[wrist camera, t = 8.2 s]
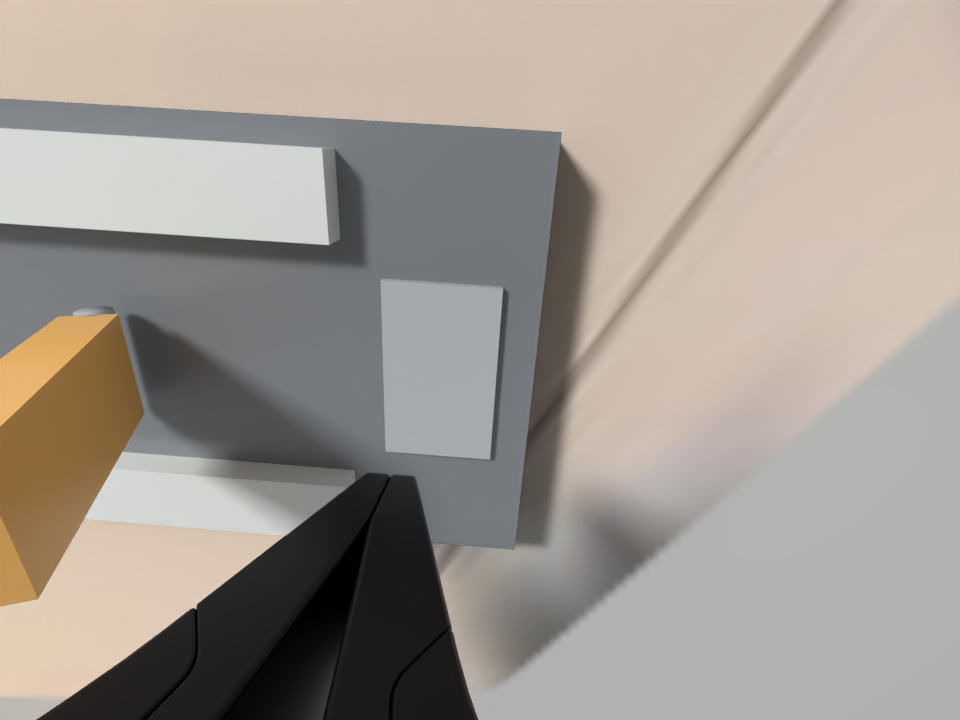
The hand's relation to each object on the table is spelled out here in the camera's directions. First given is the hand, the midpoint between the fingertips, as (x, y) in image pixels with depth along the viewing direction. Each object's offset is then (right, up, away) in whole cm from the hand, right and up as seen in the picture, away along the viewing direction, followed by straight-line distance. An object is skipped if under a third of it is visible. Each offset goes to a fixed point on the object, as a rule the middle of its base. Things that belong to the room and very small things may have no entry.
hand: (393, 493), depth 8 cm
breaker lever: (-8, +2, +4) cm, 9 cm away
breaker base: (-8, +3, +6) cm, 11 cm away
